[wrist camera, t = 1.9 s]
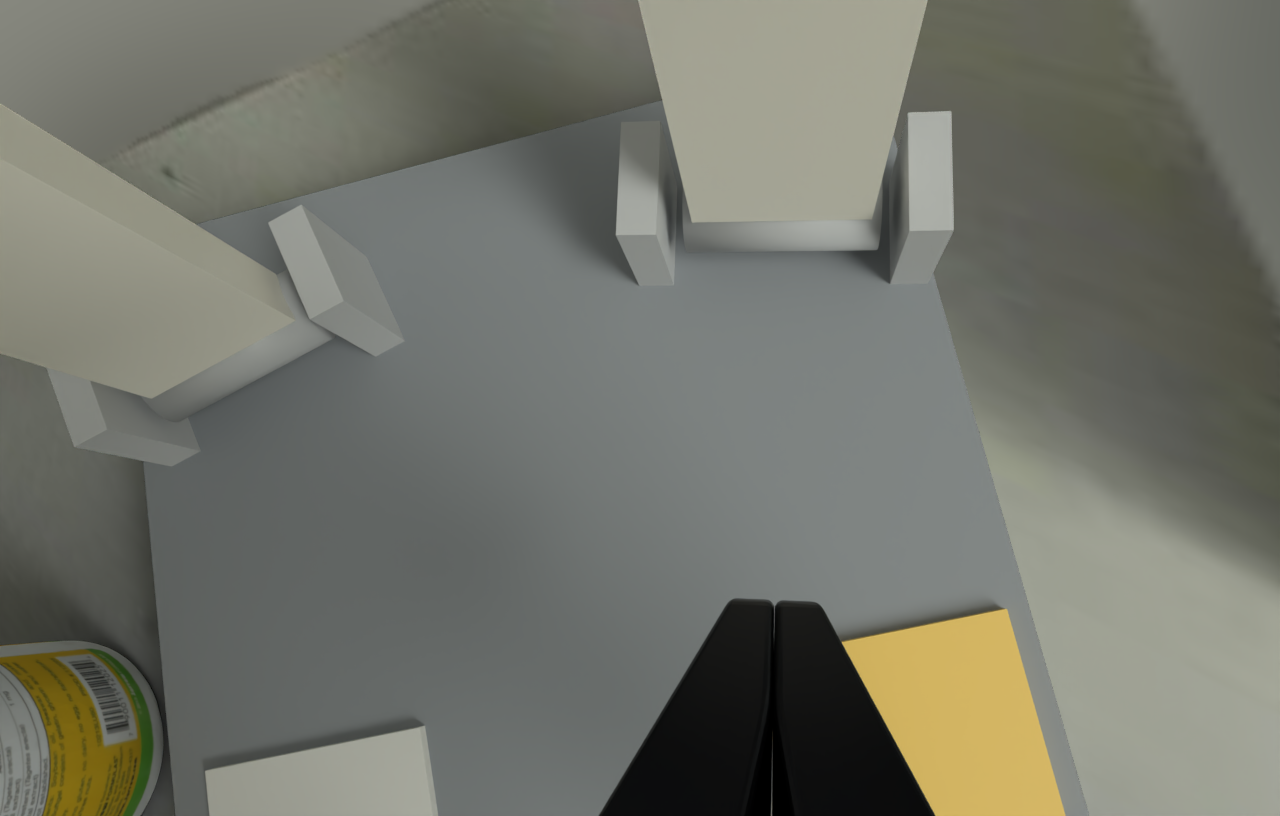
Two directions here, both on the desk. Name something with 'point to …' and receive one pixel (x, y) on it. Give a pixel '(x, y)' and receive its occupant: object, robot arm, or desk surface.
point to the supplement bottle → (75, 732)
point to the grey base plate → (573, 492)
